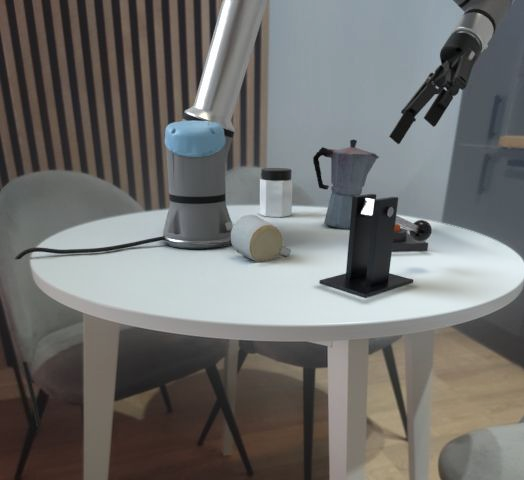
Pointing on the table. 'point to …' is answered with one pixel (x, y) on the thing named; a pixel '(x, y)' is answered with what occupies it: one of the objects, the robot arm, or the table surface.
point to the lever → (402, 223)
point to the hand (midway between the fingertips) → (410, 131)
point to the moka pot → (344, 180)
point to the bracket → (369, 250)
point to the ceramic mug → (257, 239)
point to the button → (397, 228)
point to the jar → (276, 192)
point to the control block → (406, 242)
